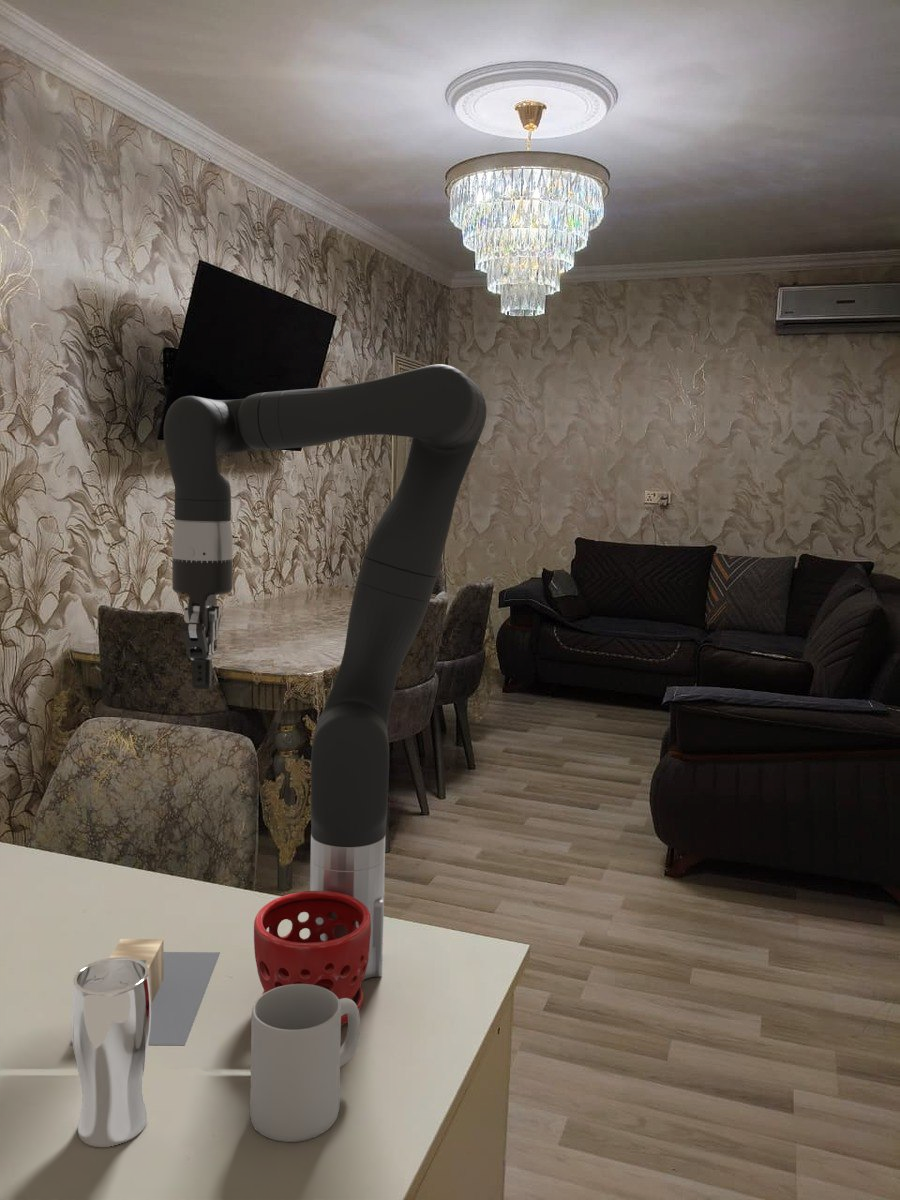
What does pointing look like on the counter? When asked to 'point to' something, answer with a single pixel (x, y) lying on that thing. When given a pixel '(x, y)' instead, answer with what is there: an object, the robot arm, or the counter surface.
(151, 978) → the maple block
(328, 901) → the plant pot
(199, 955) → the rubber mat
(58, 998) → the counter surface
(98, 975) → the beer glass
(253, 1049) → the mug
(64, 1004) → the counter surface
